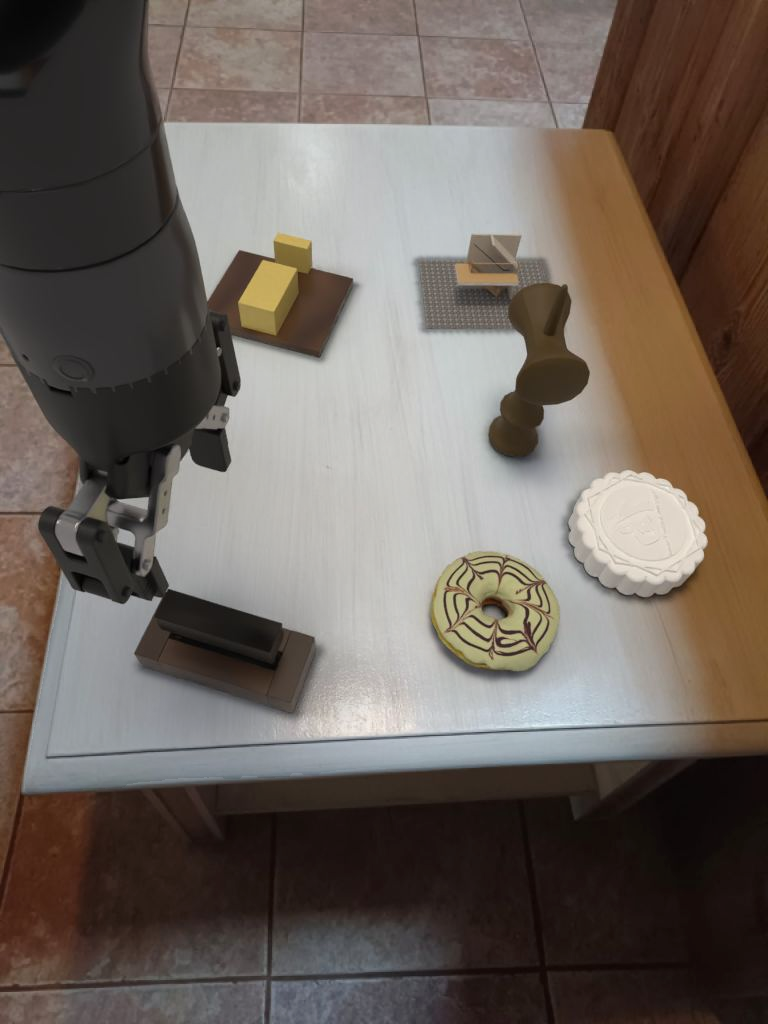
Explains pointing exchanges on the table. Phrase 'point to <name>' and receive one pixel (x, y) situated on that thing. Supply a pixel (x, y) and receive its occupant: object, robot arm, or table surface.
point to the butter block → (268, 297)
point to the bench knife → (221, 629)
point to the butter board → (307, 314)
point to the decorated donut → (483, 636)
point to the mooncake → (637, 533)
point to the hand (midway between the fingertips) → (182, 523)
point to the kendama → (538, 367)
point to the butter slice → (293, 252)
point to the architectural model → (477, 284)
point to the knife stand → (231, 666)
